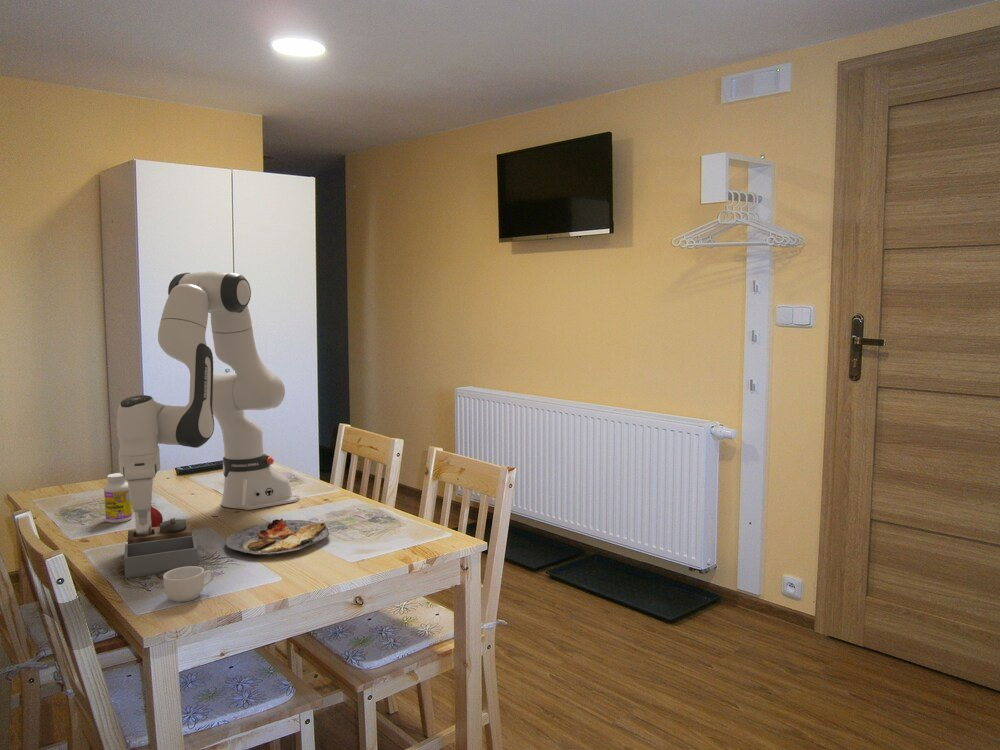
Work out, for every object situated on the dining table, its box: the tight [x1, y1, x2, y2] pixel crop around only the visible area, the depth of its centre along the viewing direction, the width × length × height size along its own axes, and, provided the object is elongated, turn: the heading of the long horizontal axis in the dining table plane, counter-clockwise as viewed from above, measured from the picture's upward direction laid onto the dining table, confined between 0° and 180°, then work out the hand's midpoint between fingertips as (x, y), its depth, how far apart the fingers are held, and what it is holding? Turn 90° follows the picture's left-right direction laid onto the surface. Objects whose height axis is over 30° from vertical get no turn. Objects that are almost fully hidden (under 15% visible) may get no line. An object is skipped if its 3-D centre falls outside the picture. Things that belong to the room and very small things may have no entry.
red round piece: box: [150, 504, 164, 528], centre depth 196 cm, size 6×6×8 cm
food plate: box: [224, 518, 330, 556], centre depth 190 cm, size 25×23×4 cm
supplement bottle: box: [103, 472, 133, 524], centre depth 209 cm, size 7×7×13 cm
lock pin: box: [134, 510, 152, 537], centre depth 182 cm, size 3×3×12 cm
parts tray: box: [123, 535, 199, 579], centre depth 174 cm, size 15×10×4 cm
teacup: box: [162, 565, 215, 603], centre depth 156 cm, size 10×8×5 cm
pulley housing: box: [127, 518, 193, 544], centre depth 184 cm, size 14×8×8 cm, turn 115°
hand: (143, 520), depth 182 cm, fingers open, 4 cm apart
